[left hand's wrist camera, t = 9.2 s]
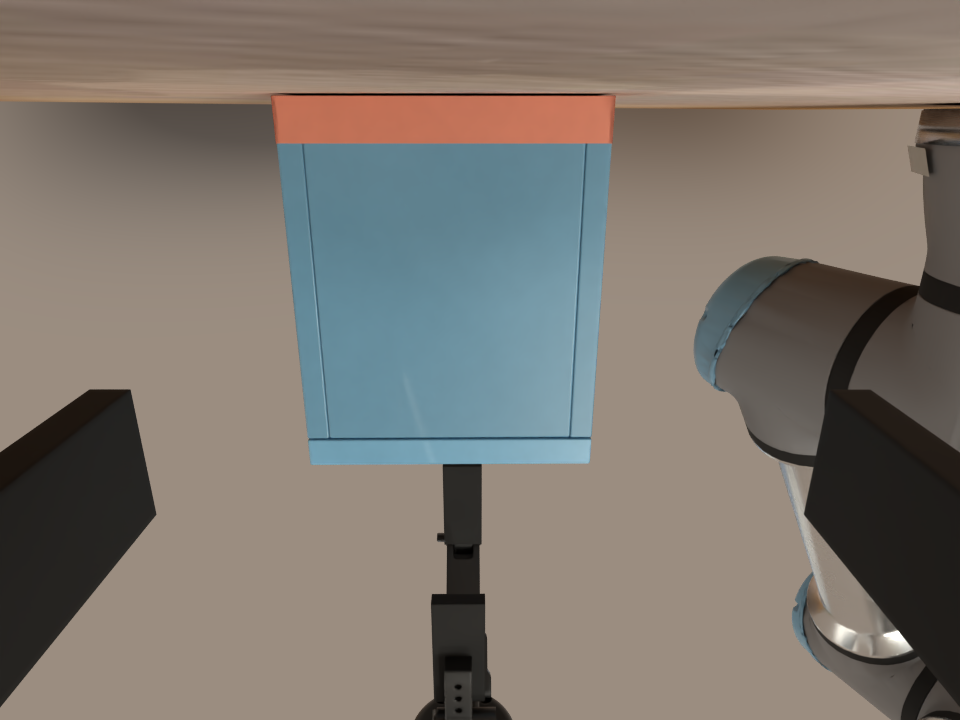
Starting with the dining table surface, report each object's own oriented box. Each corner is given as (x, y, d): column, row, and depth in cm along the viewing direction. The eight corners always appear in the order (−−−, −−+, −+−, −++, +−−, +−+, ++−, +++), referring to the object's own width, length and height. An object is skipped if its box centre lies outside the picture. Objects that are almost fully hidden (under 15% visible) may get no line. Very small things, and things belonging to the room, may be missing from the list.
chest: (550, 104, 32) (543, 305, 36) (363, 103, 32) (375, 305, 36) (615, 95, 18) (592, 437, 21) (270, 95, 18) (307, 439, 21)
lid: (541, 301, 37) (536, 430, 40) (377, 302, 37) (384, 431, 40) (591, 438, 21) (578, 634, 24) (307, 440, 21) (328, 636, 24)
